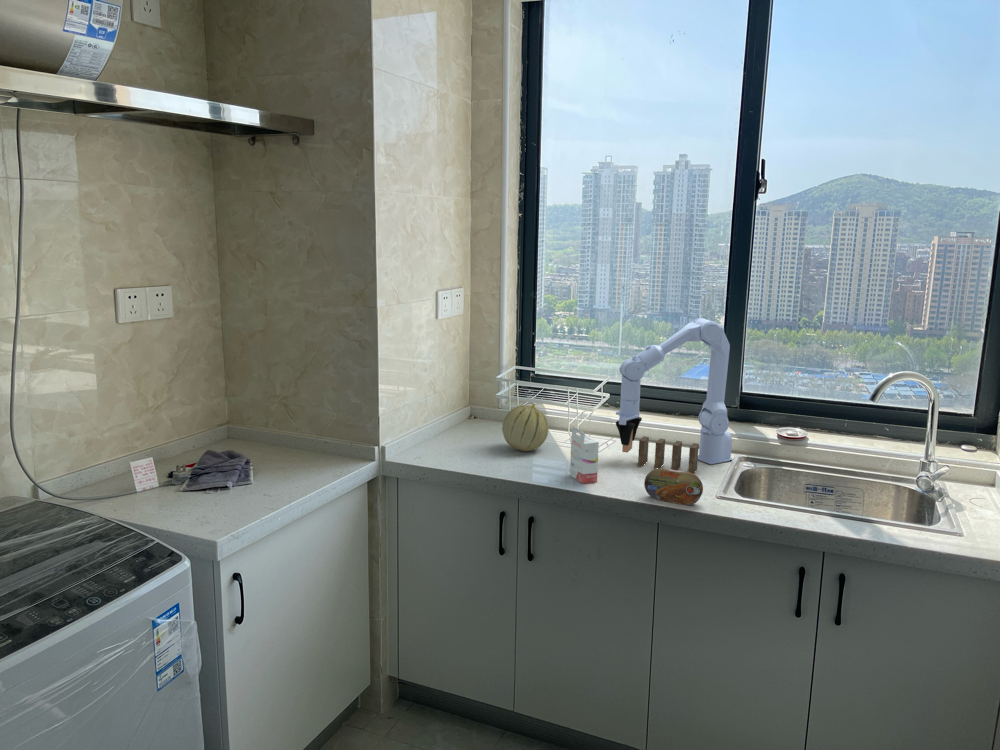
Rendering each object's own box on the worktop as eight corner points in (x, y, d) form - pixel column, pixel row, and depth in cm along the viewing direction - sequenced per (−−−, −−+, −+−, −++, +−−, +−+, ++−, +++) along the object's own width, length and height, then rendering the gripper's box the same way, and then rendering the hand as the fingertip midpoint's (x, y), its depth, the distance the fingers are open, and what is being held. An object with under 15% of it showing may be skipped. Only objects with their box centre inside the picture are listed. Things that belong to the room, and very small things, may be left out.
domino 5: (697, 469, 218) (698, 443, 217) (693, 474, 214) (695, 448, 213) (691, 468, 219) (693, 443, 218) (687, 473, 215) (689, 447, 213)
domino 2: (647, 462, 225) (648, 436, 223) (643, 466, 221) (644, 440, 219) (642, 461, 226) (643, 436, 224) (637, 465, 221) (639, 440, 220)
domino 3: (663, 464, 223) (665, 439, 221) (659, 469, 218) (661, 443, 217) (658, 463, 224) (660, 438, 222) (654, 468, 219) (655, 442, 218)
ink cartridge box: (598, 482, 206) (600, 431, 203) (582, 484, 204) (584, 433, 201) (584, 473, 214) (586, 424, 211) (568, 474, 212) (570, 425, 209)
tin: (643, 497, 195) (644, 467, 193) (646, 494, 198) (648, 464, 196) (700, 508, 188) (702, 476, 186) (703, 504, 191) (705, 473, 189)
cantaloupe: (492, 450, 235) (493, 404, 232) (521, 440, 245) (522, 397, 242) (528, 460, 225) (529, 412, 222) (557, 450, 236) (558, 404, 233)
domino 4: (680, 467, 221) (682, 441, 219) (676, 471, 216) (678, 445, 215) (675, 466, 221) (676, 440, 220) (671, 470, 217) (672, 444, 215)
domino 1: (632, 448, 226) (633, 423, 225) (627, 452, 222) (628, 427, 221) (627, 447, 227) (628, 422, 226) (622, 451, 223) (623, 426, 221)
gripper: (624, 393, 230) (622, 435, 232) (609, 402, 217) (607, 446, 219) (646, 395, 227) (644, 438, 229) (633, 405, 214) (630, 450, 216)
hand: (627, 442), depth 224 cm, fingers closed on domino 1, 5 cm apart
